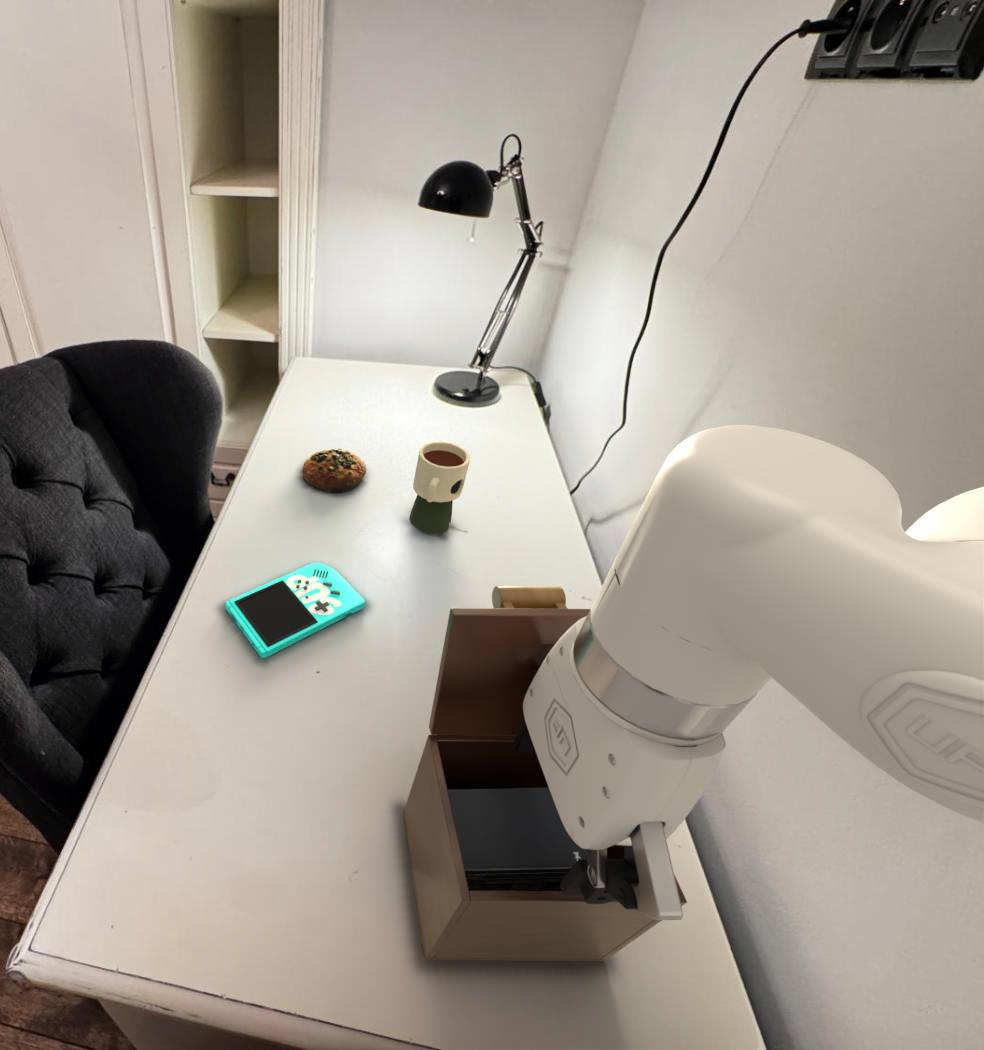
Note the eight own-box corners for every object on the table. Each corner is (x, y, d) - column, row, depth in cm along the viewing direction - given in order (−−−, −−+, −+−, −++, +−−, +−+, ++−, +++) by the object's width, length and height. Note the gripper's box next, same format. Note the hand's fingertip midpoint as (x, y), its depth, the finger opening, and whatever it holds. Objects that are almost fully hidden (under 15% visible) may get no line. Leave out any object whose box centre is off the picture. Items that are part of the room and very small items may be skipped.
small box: (526, 834, 53) (562, 782, 46) (552, 915, 48) (597, 870, 41) (414, 837, 53) (434, 784, 46) (429, 919, 48) (454, 874, 41)
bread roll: (323, 500, 92) (324, 473, 90) (290, 474, 101) (289, 448, 98) (378, 483, 97) (380, 456, 94) (342, 459, 105) (343, 434, 102)
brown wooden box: (604, 961, 46) (688, 902, 37) (425, 959, 46) (462, 900, 37) (553, 813, 55) (610, 735, 46) (403, 812, 55) (428, 734, 46)
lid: (665, 616, 39) (622, 571, 44) (453, 614, 39) (434, 569, 44) (615, 736, 45) (582, 684, 50) (430, 735, 45) (416, 683, 50)
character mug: (443, 552, 84) (461, 481, 75) (396, 538, 86) (409, 467, 77) (459, 510, 91) (477, 441, 83) (416, 498, 93) (429, 430, 85)
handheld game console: (366, 608, 75) (367, 601, 74) (262, 661, 69) (262, 654, 68) (323, 563, 82) (323, 556, 81) (224, 608, 75) (223, 601, 74)
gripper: (527, 549, 36) (471, 705, 47) (673, 844, 22) (547, 965, 33) (647, 548, 36) (563, 704, 47) (865, 844, 22) (675, 965, 33)
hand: (556, 813), depth 40 cm, fingers open, 9 cm apart
